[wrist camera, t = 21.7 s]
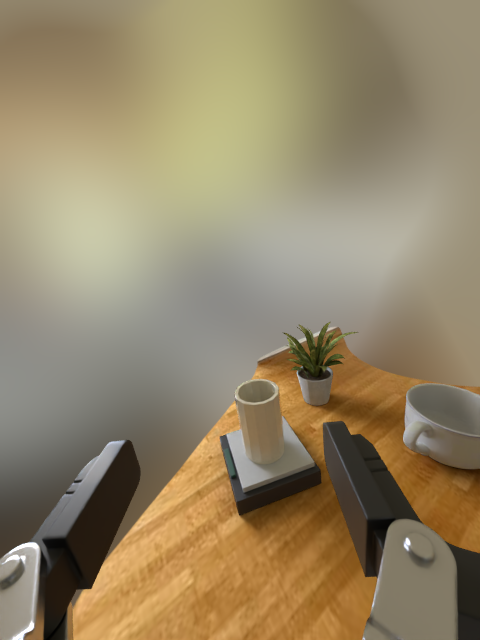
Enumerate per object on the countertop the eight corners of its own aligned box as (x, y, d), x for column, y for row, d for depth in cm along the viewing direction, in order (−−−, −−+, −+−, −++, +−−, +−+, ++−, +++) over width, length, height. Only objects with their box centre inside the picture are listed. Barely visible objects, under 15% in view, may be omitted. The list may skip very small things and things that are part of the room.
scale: (239, 515, 32) (235, 497, 31) (221, 447, 43) (218, 432, 42) (321, 483, 34) (320, 465, 33) (284, 427, 45) (283, 412, 44)
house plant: (349, 377, 57) (348, 310, 52) (368, 418, 44) (369, 334, 40) (287, 379, 60) (281, 316, 56) (288, 418, 47) (280, 340, 43)
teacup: (443, 417, 42) (447, 376, 40) (524, 471, 32) (536, 420, 29) (369, 438, 40) (370, 396, 38) (430, 502, 30) (436, 449, 28)
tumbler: (251, 471, 34) (241, 410, 31) (239, 438, 40) (230, 385, 37) (292, 456, 35) (286, 396, 32) (275, 427, 41) (268, 374, 38)
